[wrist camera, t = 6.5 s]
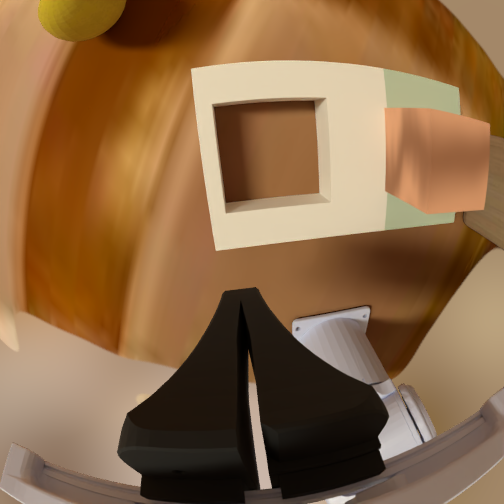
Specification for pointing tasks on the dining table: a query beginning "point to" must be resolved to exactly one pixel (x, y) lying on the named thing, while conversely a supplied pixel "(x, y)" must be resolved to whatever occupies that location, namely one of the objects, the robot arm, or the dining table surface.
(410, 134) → the block
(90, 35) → the lemon
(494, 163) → the wooden block
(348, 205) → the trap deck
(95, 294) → the dining table surface
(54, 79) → the dining table surface
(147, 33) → the dining table surface
